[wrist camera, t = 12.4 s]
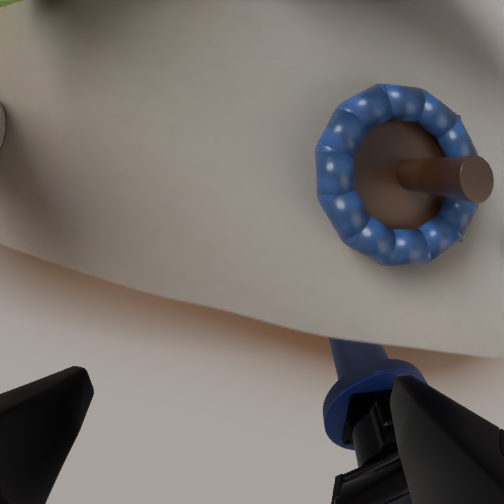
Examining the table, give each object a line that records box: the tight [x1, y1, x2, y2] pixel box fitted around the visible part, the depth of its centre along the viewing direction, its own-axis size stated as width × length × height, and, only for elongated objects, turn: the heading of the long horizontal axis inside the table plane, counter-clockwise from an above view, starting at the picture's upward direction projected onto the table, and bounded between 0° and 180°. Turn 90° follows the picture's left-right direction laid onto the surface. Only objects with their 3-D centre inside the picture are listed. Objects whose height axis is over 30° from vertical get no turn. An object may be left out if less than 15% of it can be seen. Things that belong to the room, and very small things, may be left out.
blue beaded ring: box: [315, 84, 478, 266], centre depth 15 cm, size 10×10×2 cm
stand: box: [354, 115, 493, 242], centre depth 13 cm, size 8×8×8 cm
